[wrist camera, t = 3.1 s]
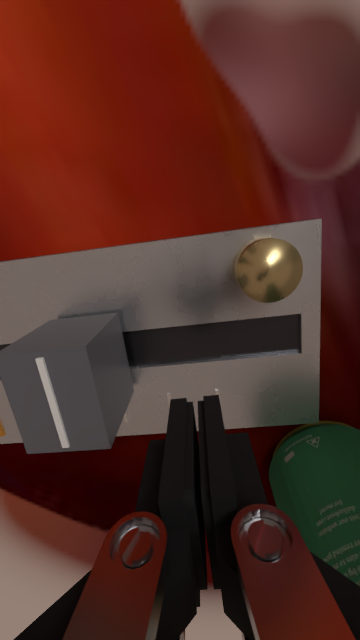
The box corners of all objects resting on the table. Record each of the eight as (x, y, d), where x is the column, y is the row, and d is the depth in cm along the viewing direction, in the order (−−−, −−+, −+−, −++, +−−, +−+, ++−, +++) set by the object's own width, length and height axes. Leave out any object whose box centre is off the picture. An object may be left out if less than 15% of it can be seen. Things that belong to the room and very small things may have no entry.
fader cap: (118, 312, 16) (84, 347, 11) (134, 390, 17) (110, 450, 13) (50, 320, 16) (-10, 356, 12) (71, 396, 18) (25, 455, 13)
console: (307, 219, 16) (338, 217, 12) (307, 404, 20) (331, 443, 16) (-78, 271, 19) (-145, 282, 15) (-16, 427, 22) (-58, 466, 18)
